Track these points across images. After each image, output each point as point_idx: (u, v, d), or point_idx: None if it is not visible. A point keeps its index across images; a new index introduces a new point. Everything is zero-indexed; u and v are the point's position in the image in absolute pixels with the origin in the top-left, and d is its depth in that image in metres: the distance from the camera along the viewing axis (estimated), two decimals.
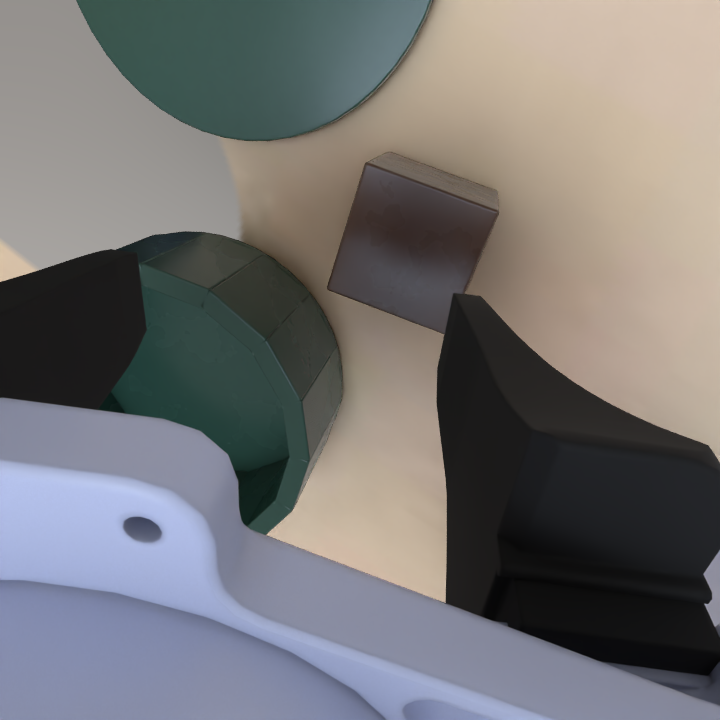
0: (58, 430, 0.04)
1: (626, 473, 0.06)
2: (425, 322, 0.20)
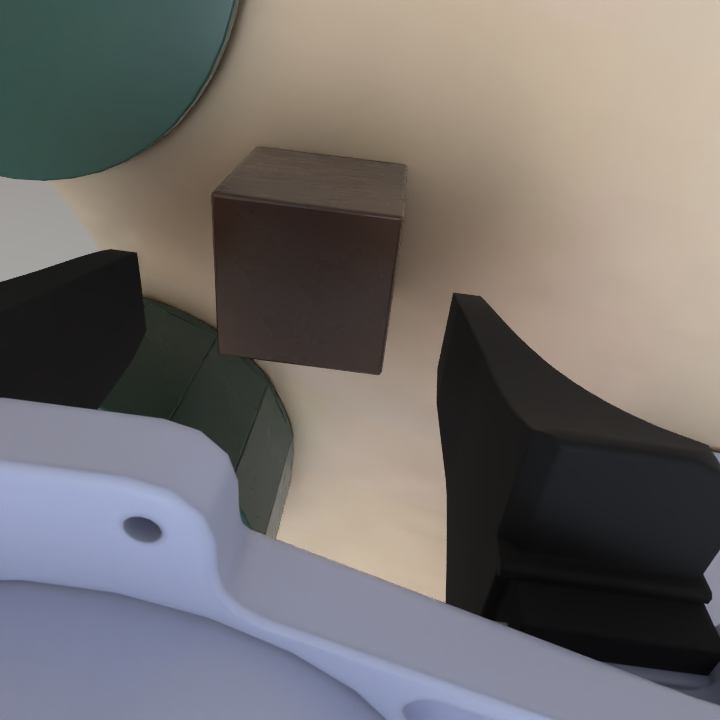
0: (58, 430, 0.04)
1: (626, 473, 0.06)
2: (350, 366, 0.15)
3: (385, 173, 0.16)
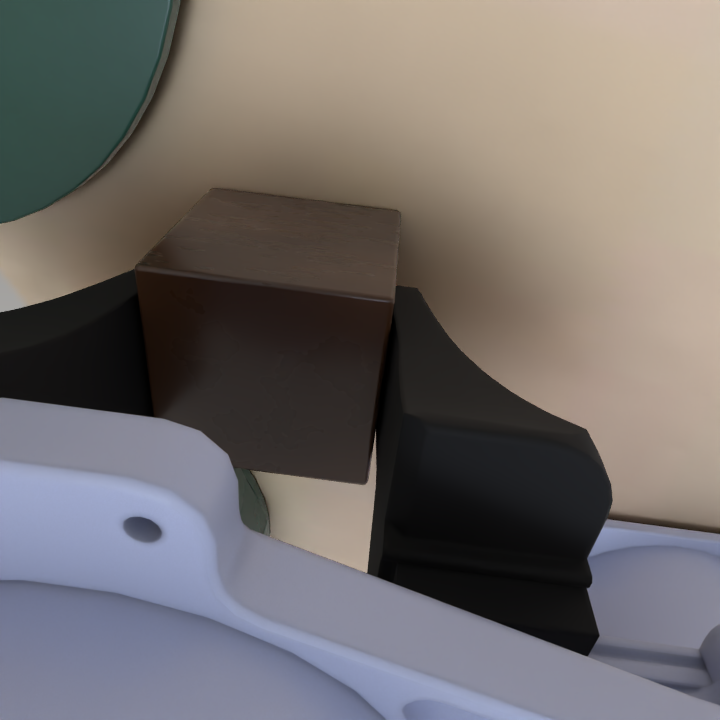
0: (58, 430, 0.04)
1: (495, 455, 0.06)
2: (327, 475, 0.12)
3: (372, 225, 0.12)
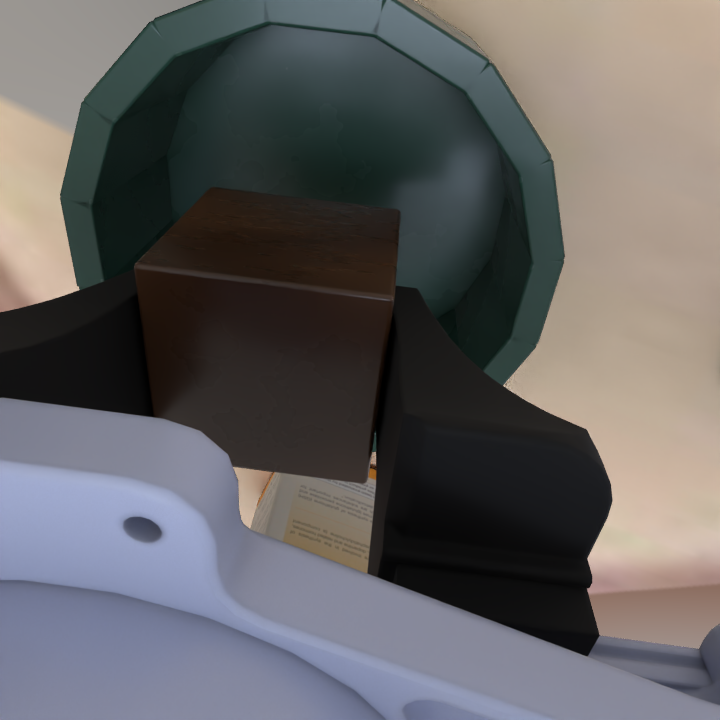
0: (58, 430, 0.04)
1: (494, 455, 0.06)
2: (327, 474, 0.12)
3: (372, 223, 0.12)
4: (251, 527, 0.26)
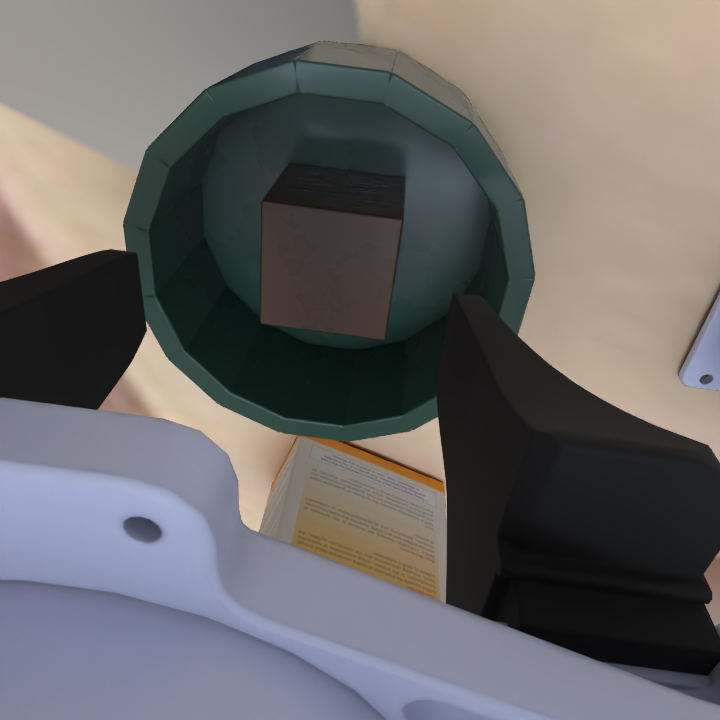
0: (58, 430, 0.04)
1: (626, 473, 0.06)
2: (361, 333, 0.20)
3: (389, 185, 0.20)
4: (266, 507, 0.29)
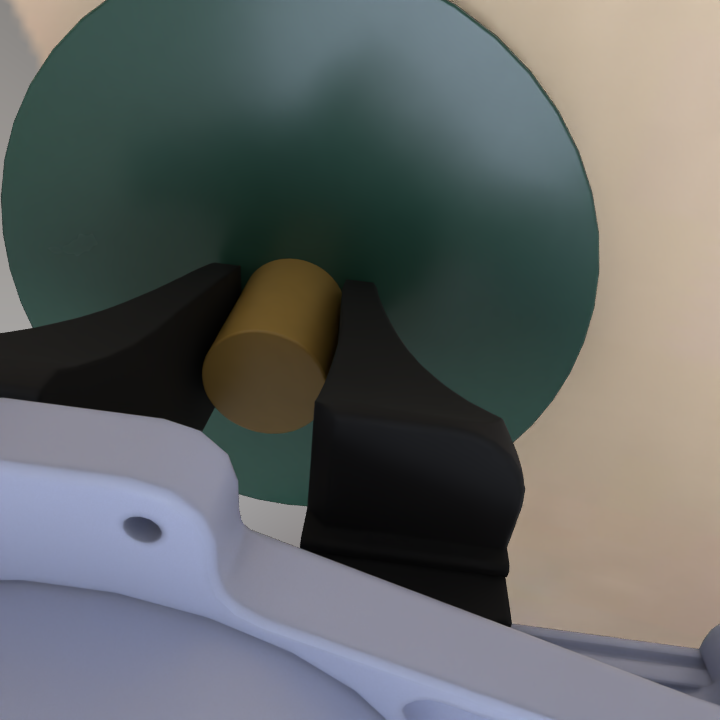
0: (58, 430, 0.04)
1: (403, 444, 0.06)
2: None
3: None
4: None
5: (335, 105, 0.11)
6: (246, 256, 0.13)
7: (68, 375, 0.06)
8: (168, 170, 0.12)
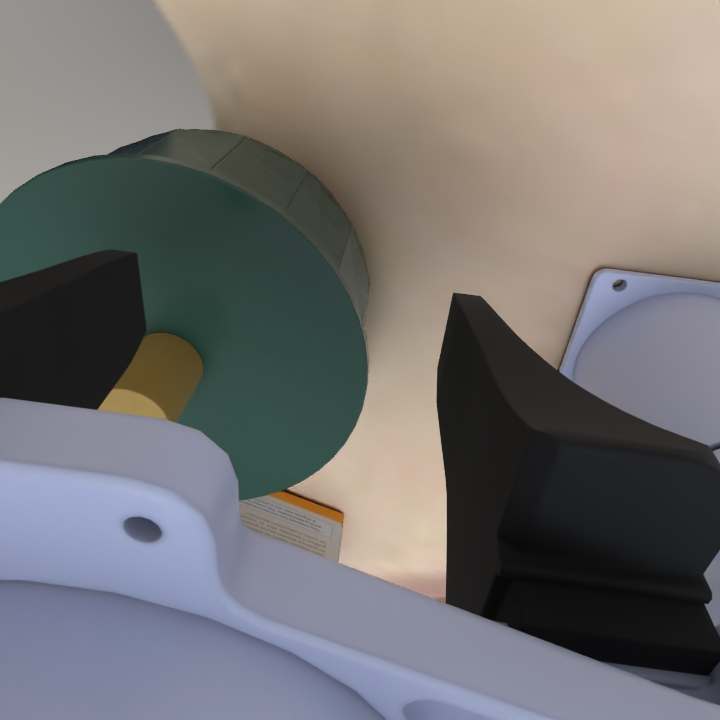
0: (57, 430, 0.04)
1: (626, 473, 0.06)
2: None
3: None
4: None
5: (177, 242, 0.17)
6: None
7: None
8: None
